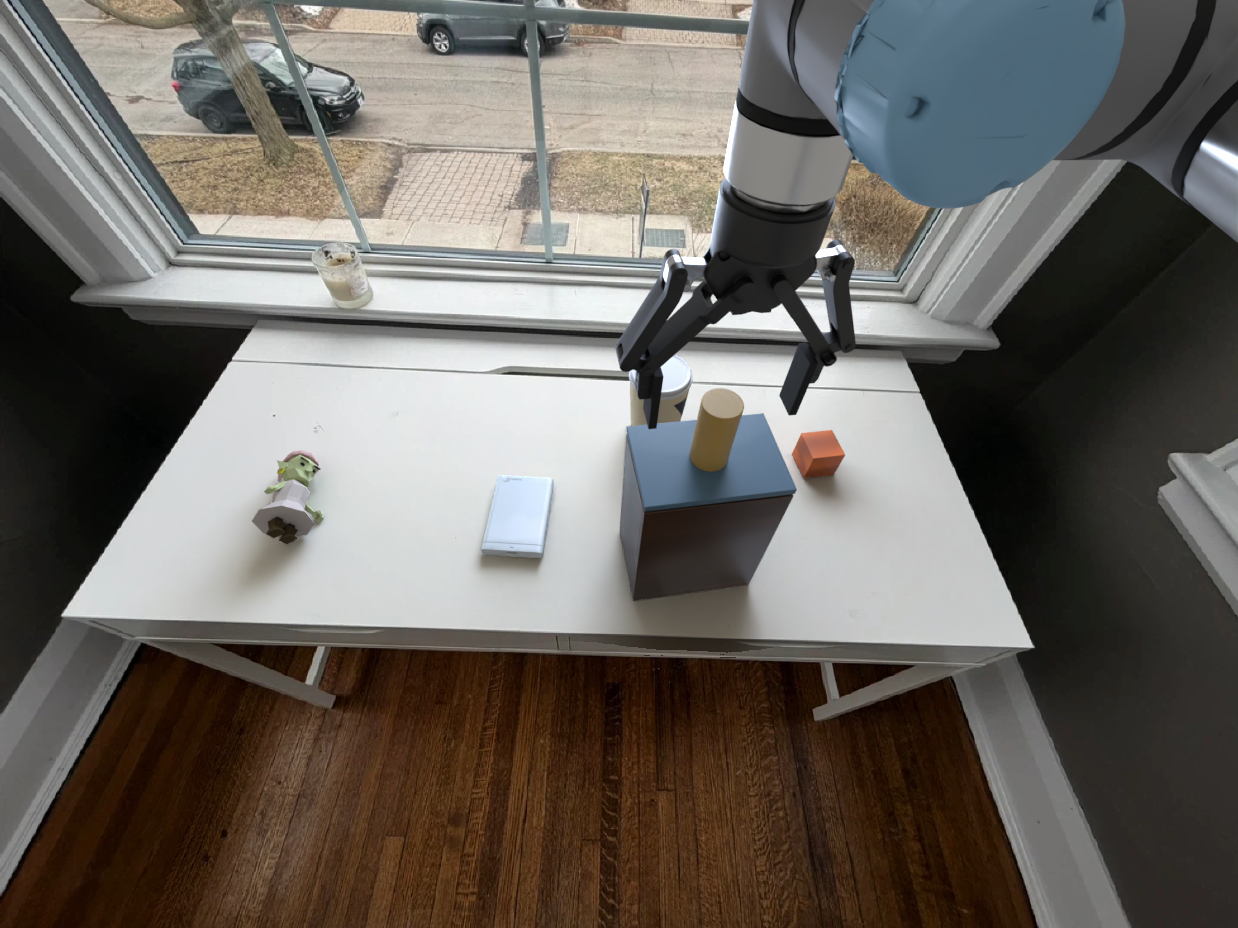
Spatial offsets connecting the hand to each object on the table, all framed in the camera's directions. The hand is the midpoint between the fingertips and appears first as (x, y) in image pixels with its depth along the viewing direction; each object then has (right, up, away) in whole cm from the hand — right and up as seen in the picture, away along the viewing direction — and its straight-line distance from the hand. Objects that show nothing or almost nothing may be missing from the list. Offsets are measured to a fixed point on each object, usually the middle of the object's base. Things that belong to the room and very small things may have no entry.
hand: (719, 411), depth 52 cm
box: (-1, -18, +22) cm, 29 cm away
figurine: (-51, -8, +23) cm, 56 cm away
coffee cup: (-4, +1, +37) cm, 37 cm away
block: (+21, -5, +33) cm, 39 cm away
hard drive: (-24, -13, +26) cm, 37 cm away
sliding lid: (0, -5, +6) cm, 7 cm away
